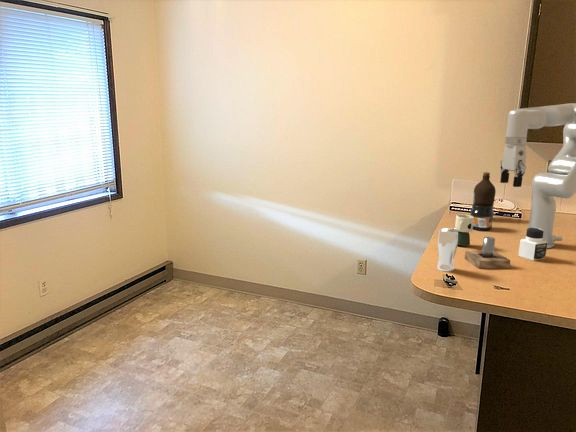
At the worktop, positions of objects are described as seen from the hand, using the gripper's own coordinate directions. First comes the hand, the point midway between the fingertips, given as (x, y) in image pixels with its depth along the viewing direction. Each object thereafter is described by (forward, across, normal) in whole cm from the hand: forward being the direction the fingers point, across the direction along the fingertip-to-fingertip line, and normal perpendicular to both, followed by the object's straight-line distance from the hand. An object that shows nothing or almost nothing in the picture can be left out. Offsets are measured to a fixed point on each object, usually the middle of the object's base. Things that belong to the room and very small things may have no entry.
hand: (510, 184), depth 200 cm
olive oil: (+28, +57, -19) cm, 66 cm away
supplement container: (+28, +38, -9) cm, 48 cm away
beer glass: (+28, -20, +33) cm, 48 cm away
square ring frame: (+28, -14, +14) cm, 35 cm away
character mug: (+28, +10, +13) cm, 33 cm away
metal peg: (+28, -14, +14) cm, 35 cm away
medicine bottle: (+28, -8, -8) cm, 31 cm away
